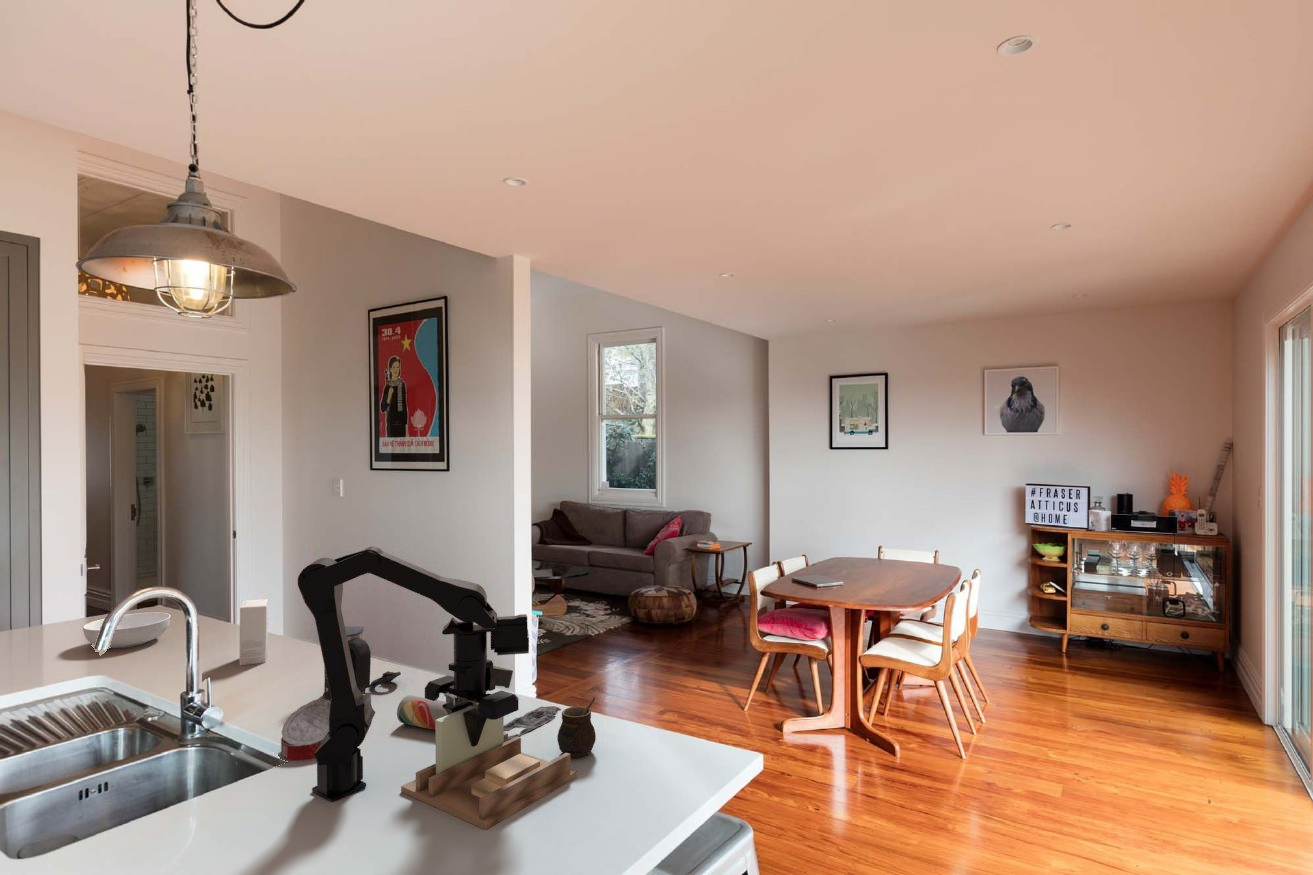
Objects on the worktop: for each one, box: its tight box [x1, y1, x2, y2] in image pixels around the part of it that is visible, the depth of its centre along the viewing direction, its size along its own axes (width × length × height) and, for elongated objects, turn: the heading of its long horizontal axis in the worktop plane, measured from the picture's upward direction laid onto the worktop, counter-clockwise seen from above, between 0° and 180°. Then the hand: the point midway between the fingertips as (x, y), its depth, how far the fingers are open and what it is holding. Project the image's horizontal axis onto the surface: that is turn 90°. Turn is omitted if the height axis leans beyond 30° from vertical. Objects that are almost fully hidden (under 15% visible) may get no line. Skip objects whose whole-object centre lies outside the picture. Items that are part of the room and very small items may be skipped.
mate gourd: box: [556, 696, 597, 759], centre depth 140 cm, size 7×8×10 cm
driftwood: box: [504, 705, 562, 740], centre depth 153 cm, size 21×7×2 cm, turn 147°
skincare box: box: [239, 598, 269, 667], centre depth 198 cm, size 8×7×16 cm
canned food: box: [280, 698, 331, 762], centre depth 142 cm, size 11×10×10 cm
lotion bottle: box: [396, 694, 448, 731], centre depth 151 cm, size 6×6×20 cm
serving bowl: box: [82, 611, 172, 649], centre depth 215 cm, size 21×21×7 cm
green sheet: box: [434, 705, 505, 774], centre depth 130 cm, size 14×2×11 cm, turn 145°
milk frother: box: [322, 625, 402, 700], centre depth 175 cm, size 14×16×15 cm
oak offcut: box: [485, 754, 540, 786], centre depth 126 cm, size 8×5×2 cm, turn 145°
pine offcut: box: [472, 778, 502, 798], centre depth 125 cm, size 11×6×2 cm, turn 145°
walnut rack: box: [400, 731, 577, 831], centre depth 127 cm, size 21×21×4 cm
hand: (471, 744), depth 130 cm, fingers closed on green sheet, 2 cm apart
